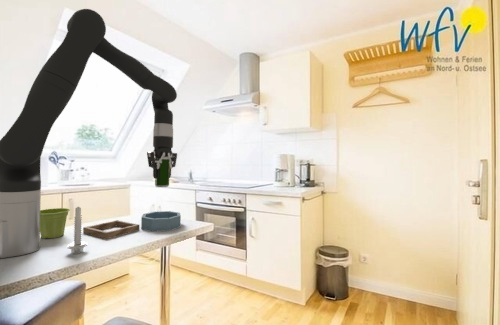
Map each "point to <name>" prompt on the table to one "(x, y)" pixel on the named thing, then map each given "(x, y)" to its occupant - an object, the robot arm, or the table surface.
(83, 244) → the screw
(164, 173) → the beer can
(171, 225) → the slate bowl
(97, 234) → the walnut frame
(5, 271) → the table surface
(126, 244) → the table surface
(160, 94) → the robot arm
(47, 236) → the plant pot
